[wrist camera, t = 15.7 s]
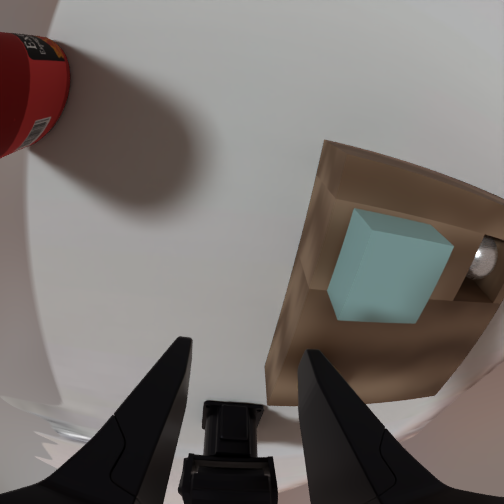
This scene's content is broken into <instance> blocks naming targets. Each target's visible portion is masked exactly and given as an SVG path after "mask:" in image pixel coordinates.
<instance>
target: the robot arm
mask: <svg viewBox="0 0 504 504" xmlns="http://www.w3.org/2000/svg"><path fill="white" fill-rule="evenodd" d="M192 343H193V341H192V338H189V337H182V336H179V337H178V338H177V339H176V340H175V341H174V342H173V343H172V345H171V346H170V347H169V348H168V349H167V351H166V352H165V353H164V354H163V355H162V357H161V358H160V359H159V360H158V361H157V362H156V364H155V365H154V366H153V367H152V368H151V370H150V371H149V372H148V373H147V374H146V376H145V377H144V378H143V379H142V380H141V382H140V383H139V384H138V385H137V386H136V388H135V389H134V390H133V391H132V392H131V394H130V395H129V396H128V397H127V398H126V400H125V401H124V402H123V403H122V404H121V405H120V407H119V408H118V409H117V410H116V411H115V413H114V415H112V416H111V417H110V418H109V420H108V421H107V422H106V423H105V424H104V426H103V427H102V428H101V429H100V430H99V431H98V432H97V433H96V434H95V436H94V437H93V438H92V439H90V440H89V441H88V442H87V443H86V444H85V445H84V446H83V447H82V448H81V449H80V450H79V451H78V452H77V453H75V454H74V455H73V456H72V457H71V458H70V459H69V460H68V461H66V462H65V463H64V464H63V465H62V466H61V467H60V468H58V469H57V470H56V471H55V472H54V473H53V474H51V475H50V476H49V477H47V478H46V479H44V480H42V481H40V482H38V483H36V484H33V485H30V486H27V487H23V488H20V489H17V490H13V491H9V492H6V493H2V494H0V504H163V502H164V497H165V493H166V489H167V484H168V480H169V476H170V471H171V467H172V463H173V459H174V454H175V450H176V446H177V442H178V438H179V434H180V430H181V426H182V422H183V418H184V414H185V409H186V403H187V395H188V387H189V378H190V370H191V361H192ZM297 374H298V412H299V422H300V429H301V436H302V443H303V450H304V457H305V464H306V472H307V479H308V486H309V494H310V501H311V504H504V497H497V496H491V495H485V494H479V493H474V492H469V491H463V490H459V489H454V488H452V487H449V486H447V485H445V484H443V483H442V482H440V481H439V480H438V479H437V478H435V476H433V475H432V474H431V473H430V472H429V471H428V470H427V469H426V468H424V467H423V466H422V465H421V464H420V463H419V462H418V461H417V460H416V459H415V458H414V457H413V456H412V455H411V454H409V453H408V452H407V451H406V450H405V449H404V448H403V447H402V446H401V444H400V443H399V442H398V441H397V440H396V439H395V438H394V437H393V436H392V434H391V433H390V432H389V431H388V430H387V429H385V426H384V425H383V424H382V423H381V422H380V421H379V419H378V418H377V417H376V416H375V415H374V414H373V412H372V411H371V410H370V409H369V408H368V407H367V405H366V404H365V403H364V402H363V401H362V399H361V398H360V397H359V396H358V395H357V394H356V392H355V391H354V390H353V389H352V388H351V387H350V385H349V384H348V383H347V382H346V381H345V379H344V378H343V377H342V376H341V375H340V374H339V372H338V371H337V370H336V369H335V368H334V366H333V365H332V364H331V363H330V362H329V360H328V359H327V358H326V357H325V356H324V355H323V353H322V352H321V351H320V350H318V349H306V350H305V351H304V354H303V356H302V358H301V361H300V363H299V366H298V372H297ZM263 411H264V408H263V406H261V405H245V404H232V403H221V402H211V401H205V402H204V406H203V419H202V429H204V430H205V439H204V453H203V455H194V454H192V453H189V456H188V458H184V463H183V471H182V476H181V479H180V483H179V487H178V493H179V494H180V495H181V496H182V498H183V501H184V504H277V503H278V488H277V481H276V474H275V468H274V461H273V456H272V457H258V456H257V431H256V429H257V426H258V424H259V421H260V419H261V416H262V414H263ZM197 472H198V473H197Z"/></svg>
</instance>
